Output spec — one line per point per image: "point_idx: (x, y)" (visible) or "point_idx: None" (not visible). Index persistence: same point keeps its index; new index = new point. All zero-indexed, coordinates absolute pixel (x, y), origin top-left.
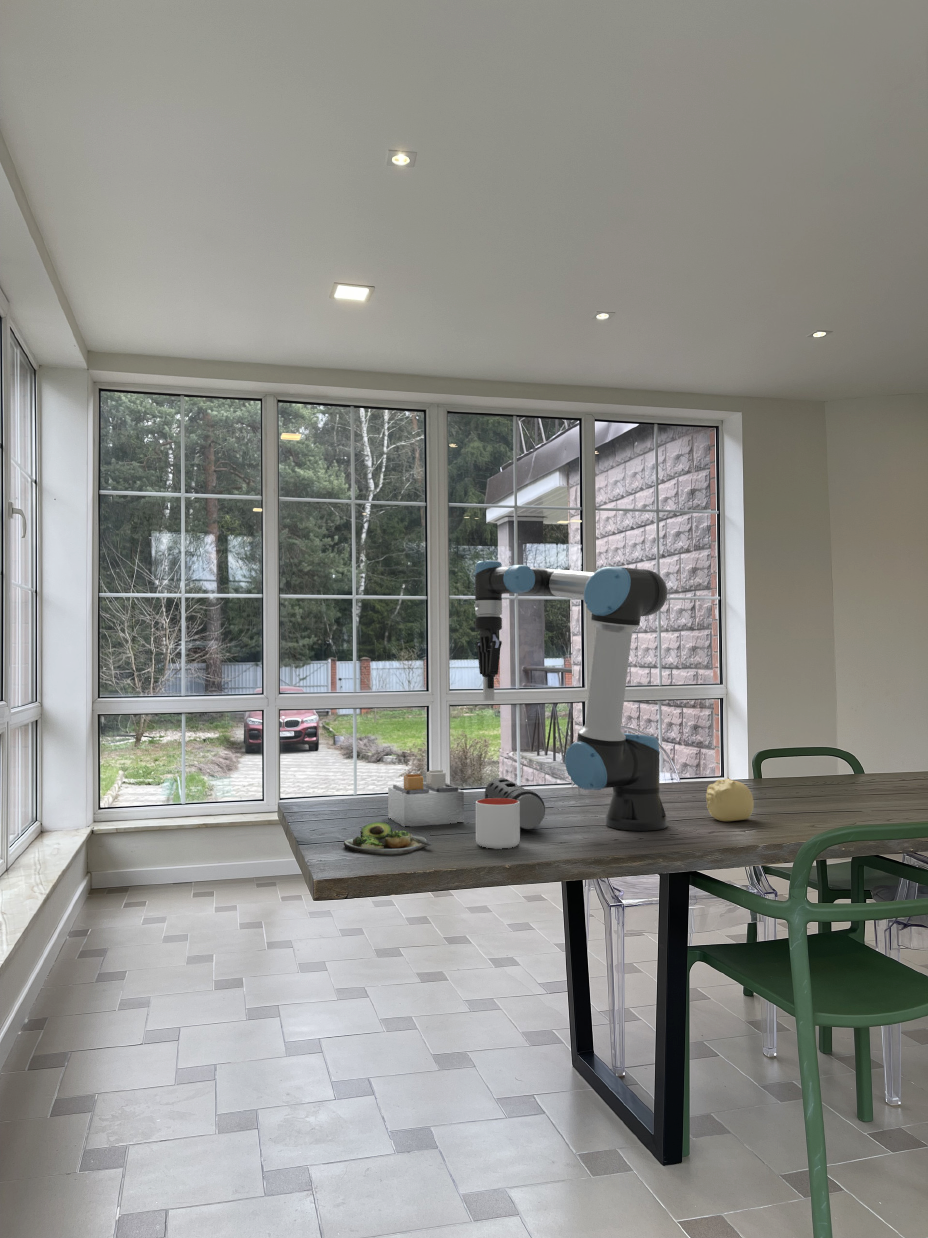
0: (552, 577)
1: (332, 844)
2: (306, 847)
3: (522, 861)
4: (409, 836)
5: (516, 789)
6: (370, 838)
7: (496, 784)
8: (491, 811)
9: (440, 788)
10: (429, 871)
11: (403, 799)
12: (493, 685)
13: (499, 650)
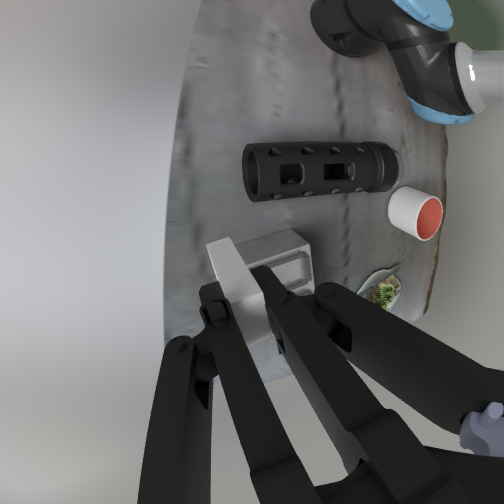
0: None
1: None
2: None
3: (438, 197)
4: (392, 285)
5: (372, 176)
6: None
7: (297, 190)
8: (434, 225)
9: (311, 278)
10: (434, 262)
11: None
12: (271, 272)
13: (473, 365)
